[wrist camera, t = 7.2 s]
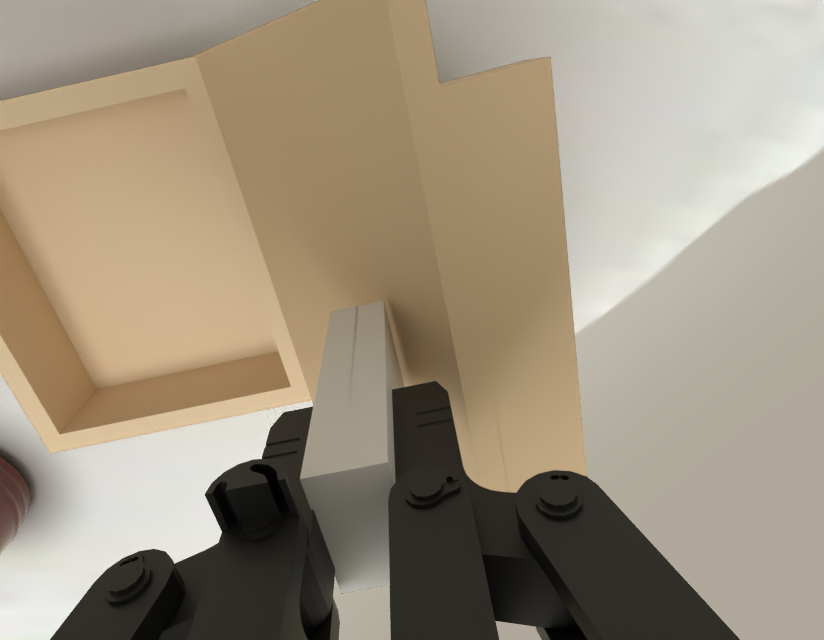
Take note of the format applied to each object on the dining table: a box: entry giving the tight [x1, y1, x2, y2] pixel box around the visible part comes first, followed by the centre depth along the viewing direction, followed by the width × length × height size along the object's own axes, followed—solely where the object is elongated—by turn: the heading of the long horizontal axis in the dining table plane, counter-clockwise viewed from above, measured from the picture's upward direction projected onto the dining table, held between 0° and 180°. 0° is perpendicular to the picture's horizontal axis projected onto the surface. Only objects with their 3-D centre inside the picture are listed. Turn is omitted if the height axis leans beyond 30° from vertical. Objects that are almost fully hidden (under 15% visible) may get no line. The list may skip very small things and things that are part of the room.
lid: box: [195, 0, 587, 493], centre depth 19 cm, size 16×14×4 cm
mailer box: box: [0, 56, 312, 454], centre depth 27 cm, size 16×14×5 cm
